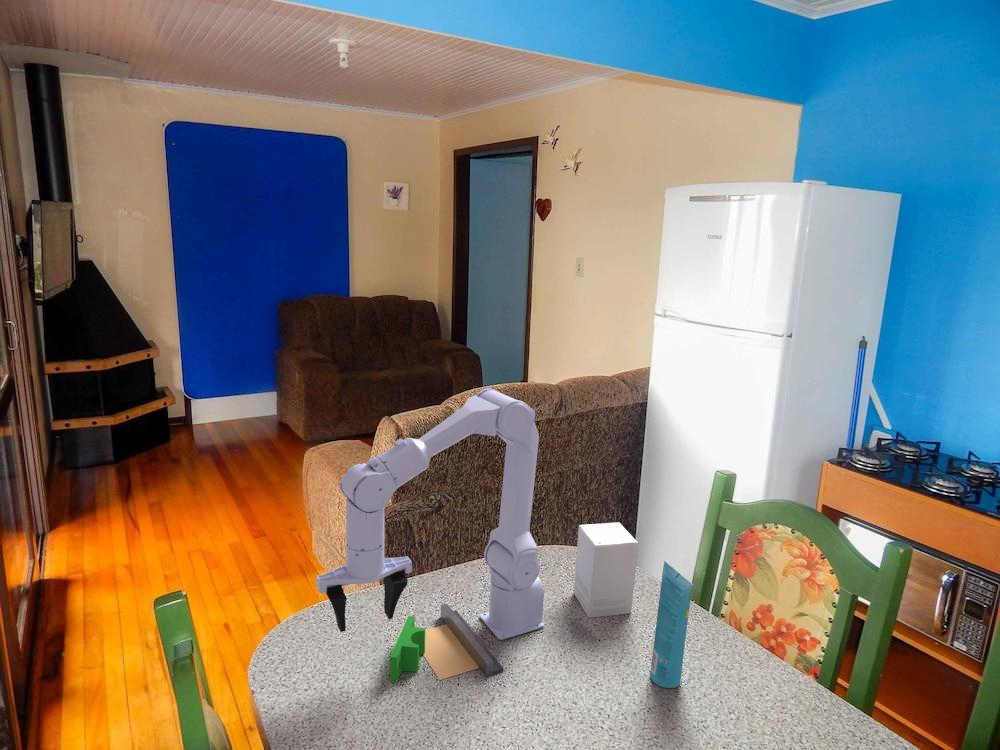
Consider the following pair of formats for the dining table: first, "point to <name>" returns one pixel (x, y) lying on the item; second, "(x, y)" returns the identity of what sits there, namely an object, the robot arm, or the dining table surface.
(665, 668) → the tube
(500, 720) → the dining table surface
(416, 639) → the pipe clamp
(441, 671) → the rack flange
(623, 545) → the supplement box
